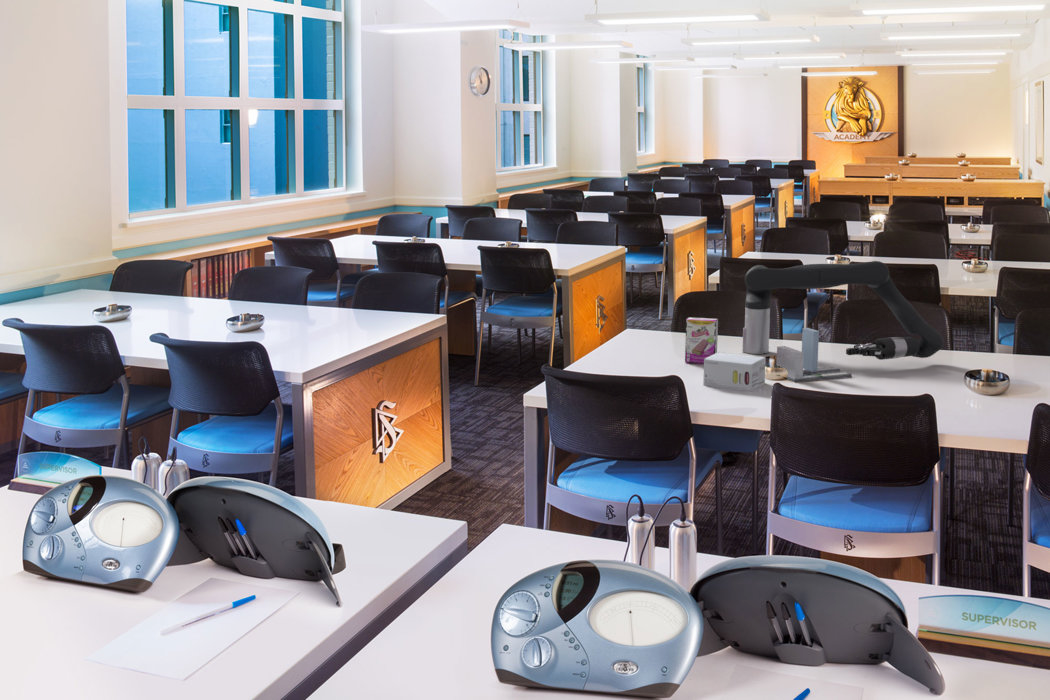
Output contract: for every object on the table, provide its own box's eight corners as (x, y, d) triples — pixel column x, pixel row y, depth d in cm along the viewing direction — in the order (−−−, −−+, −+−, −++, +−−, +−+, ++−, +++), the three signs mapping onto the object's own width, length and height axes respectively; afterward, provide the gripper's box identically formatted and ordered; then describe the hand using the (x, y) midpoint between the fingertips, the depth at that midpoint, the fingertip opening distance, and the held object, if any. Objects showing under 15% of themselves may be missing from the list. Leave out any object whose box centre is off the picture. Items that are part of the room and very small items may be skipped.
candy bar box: (684, 363, 374) (685, 319, 371) (687, 360, 379) (687, 317, 375) (715, 365, 370) (716, 320, 367) (717, 362, 375) (718, 318, 372)
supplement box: (702, 385, 340) (703, 358, 338) (718, 378, 351) (718, 351, 349) (751, 391, 331) (751, 363, 329) (765, 383, 342) (766, 356, 340)
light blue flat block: (806, 368, 355) (807, 327, 352) (823, 374, 345) (824, 332, 342) (801, 368, 354) (802, 328, 352) (817, 375, 345) (819, 333, 342)
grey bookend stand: (831, 369, 359) (832, 342, 357) (851, 377, 348) (852, 348, 346) (776, 374, 353) (777, 346, 351) (794, 382, 342) (795, 353, 340)
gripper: (879, 334, 365) (836, 337, 360) (902, 341, 352) (859, 344, 347) (878, 355, 366) (835, 358, 361) (901, 362, 354) (858, 366, 349)
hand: (847, 351), depth 354 cm, fingers closed
